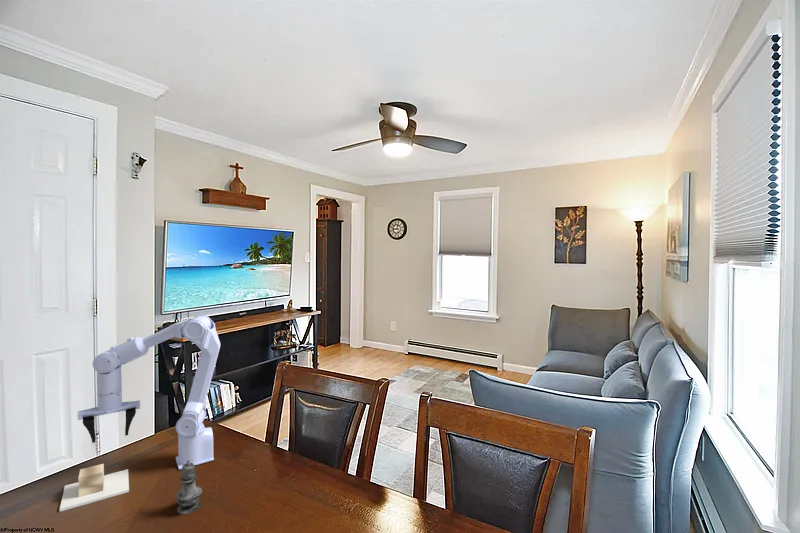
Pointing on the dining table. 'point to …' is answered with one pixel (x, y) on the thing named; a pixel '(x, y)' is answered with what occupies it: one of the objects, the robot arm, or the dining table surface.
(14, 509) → the dining table surface
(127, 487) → the white mat
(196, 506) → the grey stone chess piece
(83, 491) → the birch block
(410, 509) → the dining table surface
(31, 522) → the dining table surface
